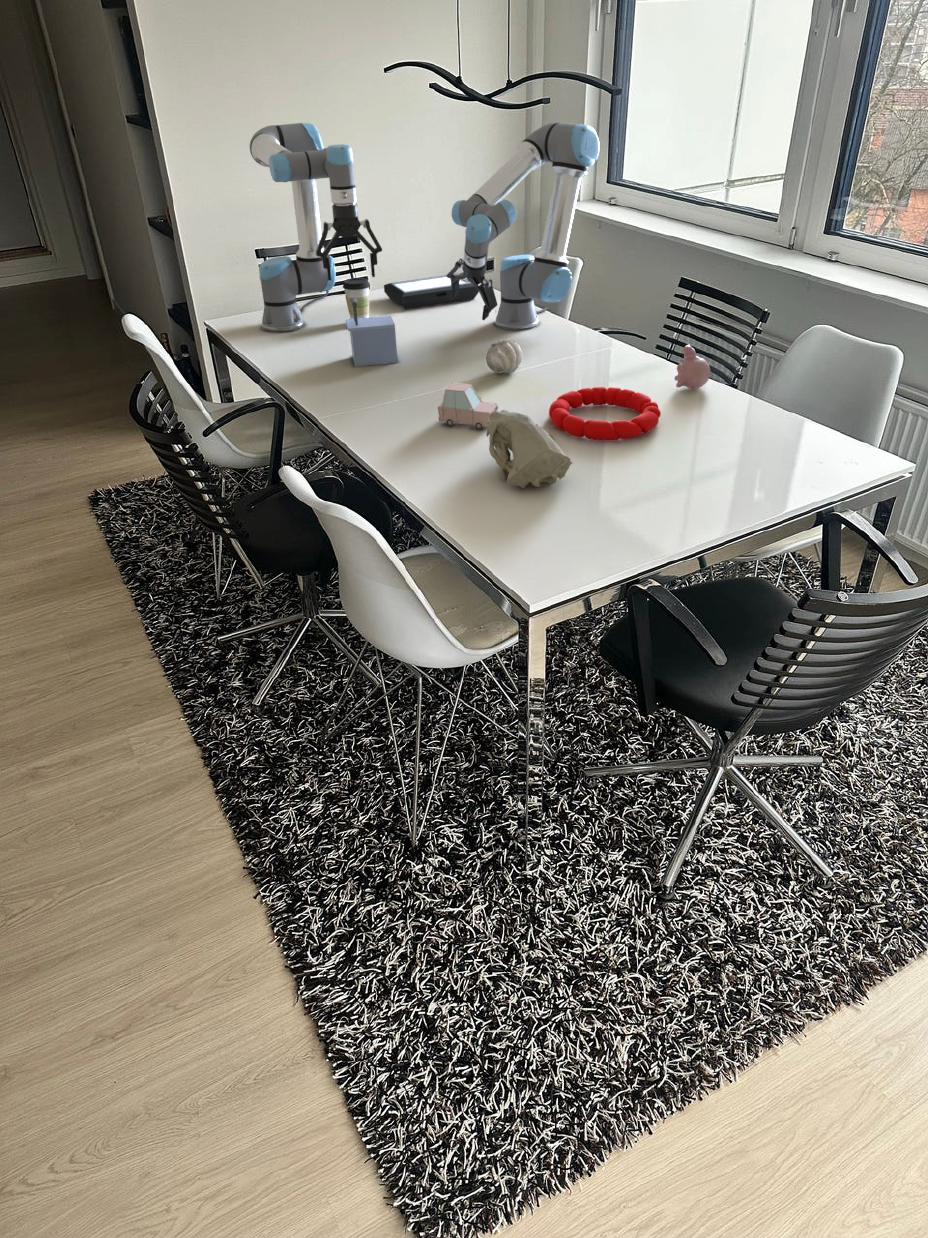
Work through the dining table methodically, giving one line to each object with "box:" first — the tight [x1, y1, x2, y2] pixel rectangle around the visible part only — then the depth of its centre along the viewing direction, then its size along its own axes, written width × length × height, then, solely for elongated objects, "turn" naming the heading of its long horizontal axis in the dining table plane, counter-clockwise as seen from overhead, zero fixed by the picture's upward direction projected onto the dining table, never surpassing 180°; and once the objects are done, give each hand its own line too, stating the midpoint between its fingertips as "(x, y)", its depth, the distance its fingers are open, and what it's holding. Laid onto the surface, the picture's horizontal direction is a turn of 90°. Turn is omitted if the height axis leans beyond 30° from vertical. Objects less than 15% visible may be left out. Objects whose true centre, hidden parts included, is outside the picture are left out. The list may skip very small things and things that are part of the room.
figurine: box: [674, 344, 711, 390], centre depth 259 cm, size 9×11×12 cm
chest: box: [349, 327, 398, 367], centre depth 290 cm, size 14×10×11 cm
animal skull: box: [485, 409, 573, 489], centre depth 216 cm, size 17×25×20 cm
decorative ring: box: [548, 386, 661, 442], centre depth 242 cm, size 7×30×30 cm
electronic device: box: [383, 273, 480, 311], centre depth 349 cm, size 32×6×20 cm
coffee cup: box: [342, 277, 371, 319], centre depth 323 cm, size 10×10×15 cm
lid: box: [345, 298, 396, 333], centre depth 284 cm, size 15×10×8 cm
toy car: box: [437, 382, 499, 431], centre depth 243 cm, size 9×15×10 cm, turn 70°
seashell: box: [485, 339, 523, 374], centre depth 276 cm, size 10×15×10 cm
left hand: (351, 277), depth 277 cm, fingers open, 13 cm apart
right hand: (470, 306), depth 303 cm, fingers open, 13 cm apart
